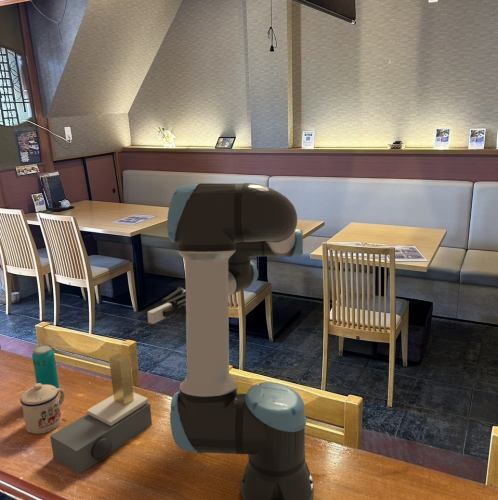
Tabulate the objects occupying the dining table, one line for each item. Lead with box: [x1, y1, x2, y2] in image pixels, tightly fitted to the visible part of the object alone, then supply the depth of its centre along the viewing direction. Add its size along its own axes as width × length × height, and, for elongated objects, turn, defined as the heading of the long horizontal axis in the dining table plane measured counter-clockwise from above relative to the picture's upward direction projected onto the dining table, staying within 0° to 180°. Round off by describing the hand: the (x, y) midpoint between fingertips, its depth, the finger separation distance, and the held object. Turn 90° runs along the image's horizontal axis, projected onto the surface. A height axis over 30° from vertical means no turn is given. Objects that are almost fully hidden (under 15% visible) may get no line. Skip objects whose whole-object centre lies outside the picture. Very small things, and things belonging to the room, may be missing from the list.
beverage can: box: [31, 344, 60, 394], centre depth 143 cm, size 6×6×15 cm
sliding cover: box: [86, 353, 149, 426], centre depth 125 cm, size 12×9×13 cm
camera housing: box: [49, 402, 153, 475], centre depth 124 cm, size 22×11×6 cm, turn 144°
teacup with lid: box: [19, 383, 66, 435], centre depth 132 cm, size 12×9×12 cm
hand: (150, 317), depth 116 cm, fingers closed
